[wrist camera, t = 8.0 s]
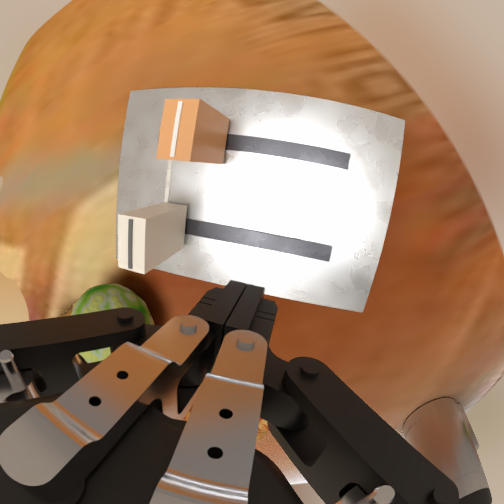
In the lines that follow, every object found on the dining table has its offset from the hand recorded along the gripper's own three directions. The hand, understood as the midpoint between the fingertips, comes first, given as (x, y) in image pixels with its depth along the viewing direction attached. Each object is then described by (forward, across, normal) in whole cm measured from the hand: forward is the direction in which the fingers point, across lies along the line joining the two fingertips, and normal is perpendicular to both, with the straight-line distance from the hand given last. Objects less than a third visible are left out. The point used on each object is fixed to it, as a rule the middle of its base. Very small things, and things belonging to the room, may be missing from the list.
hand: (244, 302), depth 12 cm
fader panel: (+14, +4, -4) cm, 15 cm away
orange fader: (+12, +7, -7) cm, 16 cm away
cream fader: (+12, +9, +1) cm, 15 cm away
